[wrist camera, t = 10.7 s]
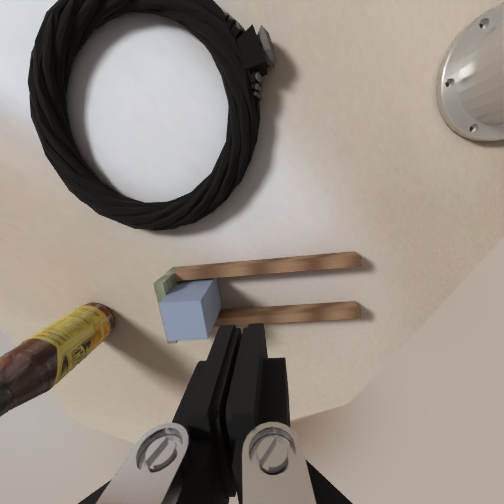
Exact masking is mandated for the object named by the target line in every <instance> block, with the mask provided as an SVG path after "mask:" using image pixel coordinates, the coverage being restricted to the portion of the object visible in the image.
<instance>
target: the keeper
mask: <svg viewBox="0 0 504 504" xmlns="http://www.w3.org/2000/svg"><path fill="white" fill-rule="evenodd" d="M159 307H160V312H161V316H162V320H163V324H164V329H165V333H166V337H167V341H179V340H199V339H208V337H209V335H210V333H211V330H212V328H213V326H214V324H215V321H216V319H217V317H218V314H219V312H220V310H221V308H222V304H221V298H220V292H219V286H218V280H217V278H208V279H195V280H183V281H179V283H178V284H177V285H176V286H175V287H174V288H173V289H172V290H171V291H170V292H169V293H168V294H167V295H166V296H165V297H164V298H163V299H162V300H161V301H160V302H159Z"/></svg>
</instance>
